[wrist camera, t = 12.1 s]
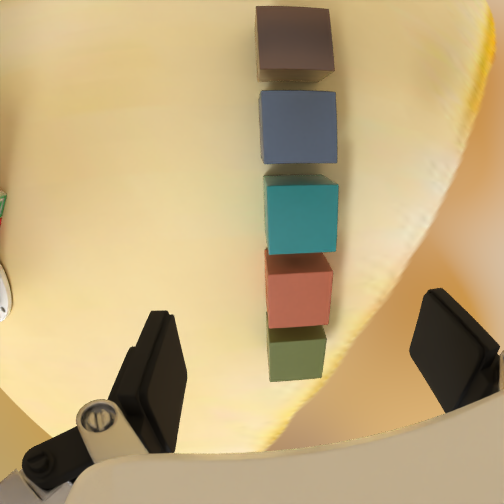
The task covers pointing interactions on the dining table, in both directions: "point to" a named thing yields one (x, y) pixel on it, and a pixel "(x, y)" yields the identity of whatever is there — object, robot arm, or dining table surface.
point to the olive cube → (295, 352)
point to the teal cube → (300, 214)
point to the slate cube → (298, 126)
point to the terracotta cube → (297, 289)
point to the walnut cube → (293, 44)
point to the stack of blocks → (2, 202)
